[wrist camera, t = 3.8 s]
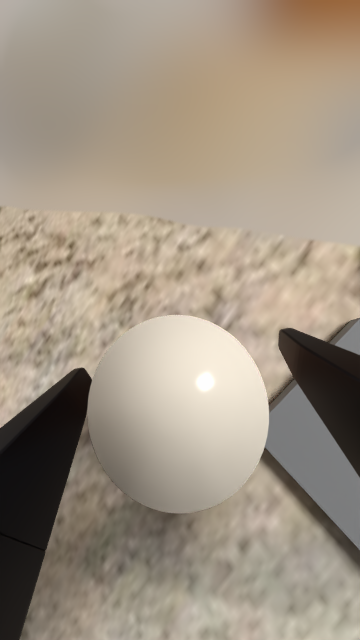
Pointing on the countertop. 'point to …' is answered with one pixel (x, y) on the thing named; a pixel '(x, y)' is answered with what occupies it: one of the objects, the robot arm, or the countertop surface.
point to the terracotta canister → (178, 414)
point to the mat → (317, 449)
